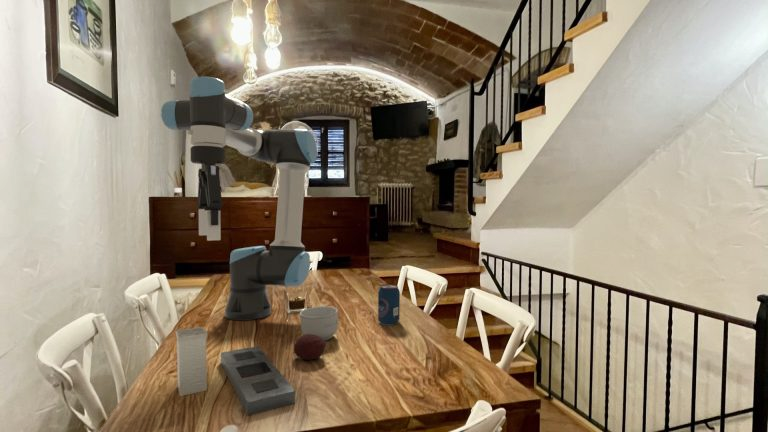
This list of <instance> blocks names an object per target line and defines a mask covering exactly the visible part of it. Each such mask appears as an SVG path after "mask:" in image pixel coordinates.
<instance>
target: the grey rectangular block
mask: <svg viewBox="0 0 768 432" xmlns="http://www.w3.org/2000/svg"><path fill="white" fill-rule="evenodd" d="M175 336H176V337H175V338H176V358H177V359H176V363H177V366H176V367H177V368H176V369H177V372H176V373H177V389H178V393H179V397H184V396H188V395H191V394H196V393H201V392H205V391H207V390H208V389H207V388H208V386H207V383H208V381H207V379H208V378H207V338H208V333H207V331H206V329H205V327H204V326H198V327H191V328H190V327H189V328H185V329H178V330H175Z"/></svg>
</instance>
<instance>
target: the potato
mask: <svg viewBox="0 0 768 432" xmlns="http://www.w3.org/2000/svg"><path fill="white" fill-rule="evenodd" d="M293 347H294V348H293V353H294V354H295V356H297V357H298V358H300V359H303V360H315V359H317V358H320V357H322V356H323V354H324V353H325V349H326V342H325V340H323V339H322V338H321V337H320V336H318V335H314V334H305V335H303V334H302V335H300V336H299V337H298V338H297V339H296V340H295V343H294V345H293Z"/></svg>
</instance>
